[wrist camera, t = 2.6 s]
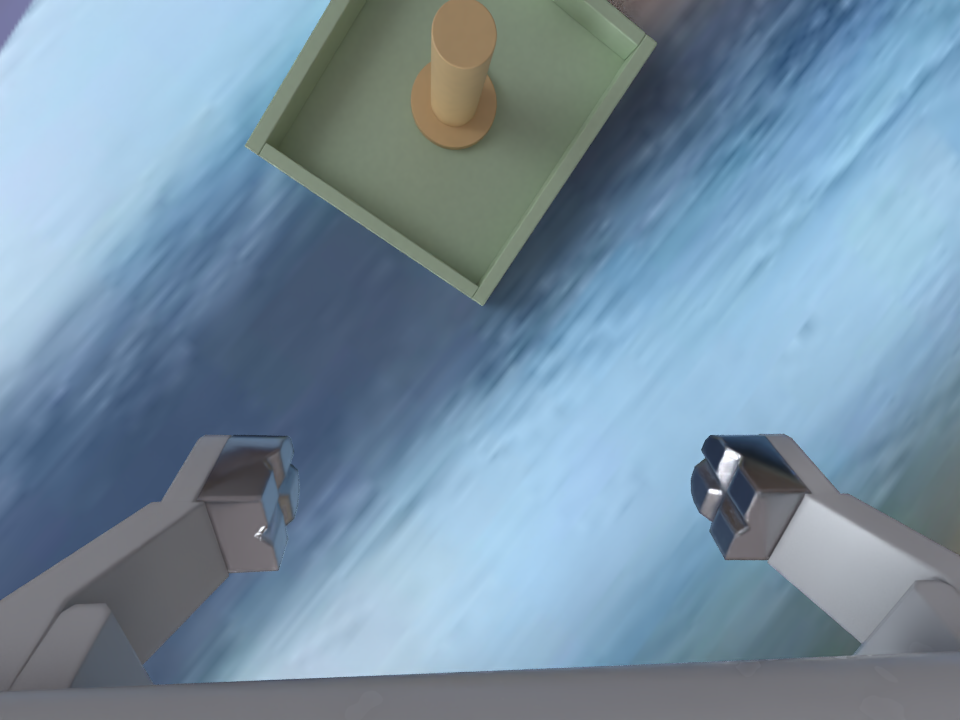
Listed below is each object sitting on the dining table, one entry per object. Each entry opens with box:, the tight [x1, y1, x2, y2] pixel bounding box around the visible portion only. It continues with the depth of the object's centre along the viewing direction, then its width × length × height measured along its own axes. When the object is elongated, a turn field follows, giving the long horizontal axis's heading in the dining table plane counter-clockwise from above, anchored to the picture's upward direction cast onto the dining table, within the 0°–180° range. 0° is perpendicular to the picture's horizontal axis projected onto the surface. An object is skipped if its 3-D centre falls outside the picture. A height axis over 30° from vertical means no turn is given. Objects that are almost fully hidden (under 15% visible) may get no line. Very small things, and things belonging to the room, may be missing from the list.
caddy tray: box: [245, 0, 657, 306], centre depth 25 cm, size 17×15×10 cm
